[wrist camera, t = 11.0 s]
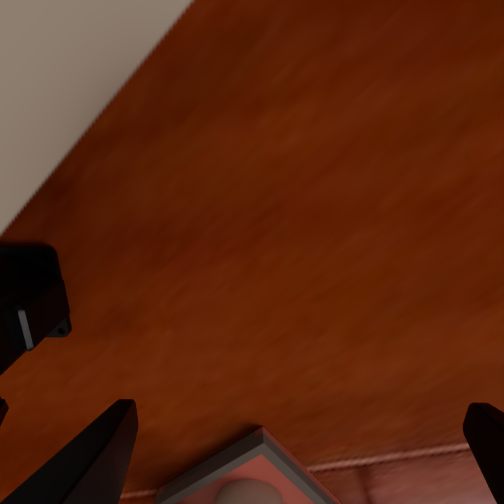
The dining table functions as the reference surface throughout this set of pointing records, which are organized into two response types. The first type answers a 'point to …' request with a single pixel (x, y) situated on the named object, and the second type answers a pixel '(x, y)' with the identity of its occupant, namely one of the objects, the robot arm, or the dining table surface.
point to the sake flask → (249, 493)
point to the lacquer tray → (247, 474)
